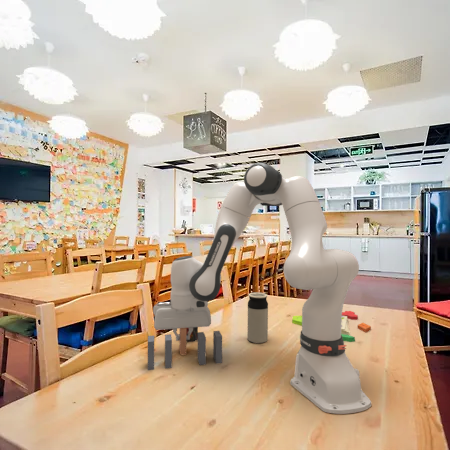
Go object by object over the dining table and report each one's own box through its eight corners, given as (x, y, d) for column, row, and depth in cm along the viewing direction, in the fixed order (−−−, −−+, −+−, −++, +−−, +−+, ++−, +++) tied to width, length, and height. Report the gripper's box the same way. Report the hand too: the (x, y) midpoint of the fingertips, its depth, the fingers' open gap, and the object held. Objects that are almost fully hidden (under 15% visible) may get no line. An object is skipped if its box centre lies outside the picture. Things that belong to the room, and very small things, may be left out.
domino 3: (184, 348, 114) (185, 324, 114) (186, 354, 109) (186, 329, 109) (179, 348, 113) (179, 324, 113) (180, 354, 109) (180, 329, 108)
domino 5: (218, 356, 108) (219, 330, 107) (222, 363, 103) (222, 336, 102) (213, 356, 107) (213, 331, 107) (216, 363, 102) (216, 336, 102)
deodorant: (180, 337, 124) (180, 300, 124) (194, 335, 127) (194, 298, 127) (185, 343, 119) (186, 304, 119) (200, 340, 122) (200, 302, 121)
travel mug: (266, 344, 118) (267, 297, 118) (246, 342, 120) (246, 296, 119) (268, 336, 126) (268, 292, 125) (248, 335, 127) (249, 291, 127)
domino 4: (203, 357, 106) (203, 331, 106) (205, 364, 101) (205, 337, 101) (197, 358, 106) (197, 332, 106) (199, 365, 101) (199, 337, 101)
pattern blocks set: (383, 345, 119) (383, 337, 119) (294, 339, 125) (294, 331, 125) (357, 315, 157) (357, 309, 157) (290, 311, 162) (290, 305, 162)
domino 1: (154, 362, 103) (154, 335, 102) (154, 369, 98) (154, 341, 98) (147, 363, 102) (148, 336, 102) (147, 370, 97) (147, 341, 97)
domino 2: (170, 360, 104) (171, 334, 104) (171, 367, 99) (171, 340, 99) (164, 361, 103) (165, 334, 103) (165, 368, 99) (165, 340, 98)
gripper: (153, 305, 105) (153, 345, 106) (212, 302, 110) (211, 340, 110) (153, 300, 112) (153, 338, 112) (209, 297, 116) (208, 334, 116)
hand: (182, 339), depth 111 cm, fingers closed on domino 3, 2 cm apart
